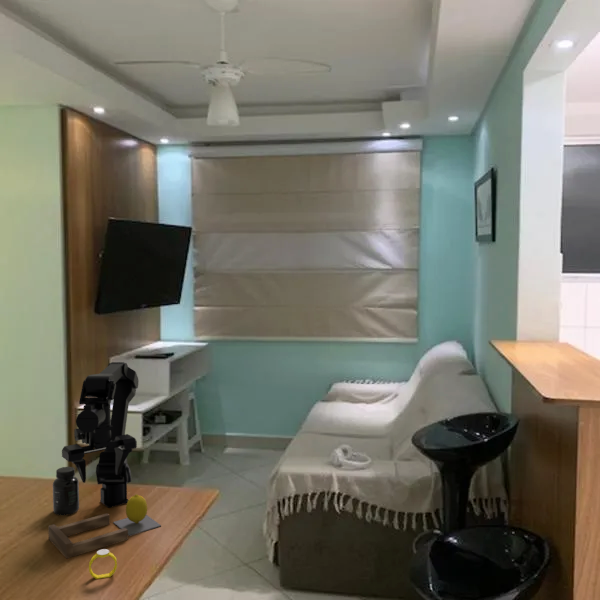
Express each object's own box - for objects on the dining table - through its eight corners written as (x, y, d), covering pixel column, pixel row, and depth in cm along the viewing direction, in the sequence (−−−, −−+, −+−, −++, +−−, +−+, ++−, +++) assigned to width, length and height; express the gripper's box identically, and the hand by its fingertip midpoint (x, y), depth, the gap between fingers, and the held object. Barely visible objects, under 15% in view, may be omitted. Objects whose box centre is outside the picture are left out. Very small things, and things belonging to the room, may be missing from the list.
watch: (116, 573, 141) (117, 547, 141) (116, 579, 138) (118, 553, 138) (88, 575, 139) (89, 549, 139) (88, 581, 136) (89, 555, 136)
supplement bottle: (48, 511, 173) (47, 470, 172) (70, 503, 179) (69, 463, 178) (62, 518, 169) (61, 475, 168) (84, 509, 174) (83, 468, 174)
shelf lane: (107, 522, 167) (107, 509, 166) (127, 539, 157) (127, 526, 156) (48, 539, 157) (48, 525, 156) (66, 558, 147) (66, 544, 146)
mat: (144, 514, 172) (144, 513, 172) (160, 526, 164) (160, 525, 164) (113, 523, 166) (113, 521, 166) (129, 536, 158) (129, 535, 158)
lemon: (151, 520, 167) (151, 492, 166) (139, 529, 162) (139, 499, 161) (133, 517, 169) (133, 489, 168) (121, 526, 163) (121, 496, 163)
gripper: (120, 410, 177) (121, 463, 178) (54, 421, 165) (55, 477, 166) (137, 418, 169) (138, 473, 170) (68, 430, 157) (70, 490, 158)
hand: (100, 478), depth 166 cm, fingers open, 9 cm apart
